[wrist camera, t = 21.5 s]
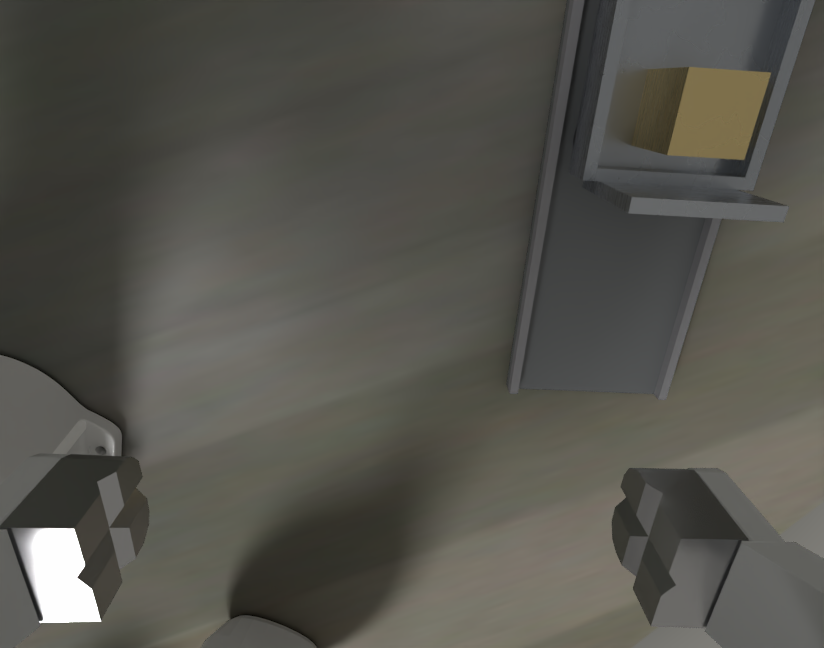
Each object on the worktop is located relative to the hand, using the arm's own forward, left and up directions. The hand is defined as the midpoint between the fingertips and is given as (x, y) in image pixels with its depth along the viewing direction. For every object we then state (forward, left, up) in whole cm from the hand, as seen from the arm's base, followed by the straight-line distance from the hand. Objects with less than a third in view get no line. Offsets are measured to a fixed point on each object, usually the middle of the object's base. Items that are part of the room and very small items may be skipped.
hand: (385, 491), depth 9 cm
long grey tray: (+10, -16, -28) cm, 33 cm away
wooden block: (+6, -16, -25) cm, 30 cm away
